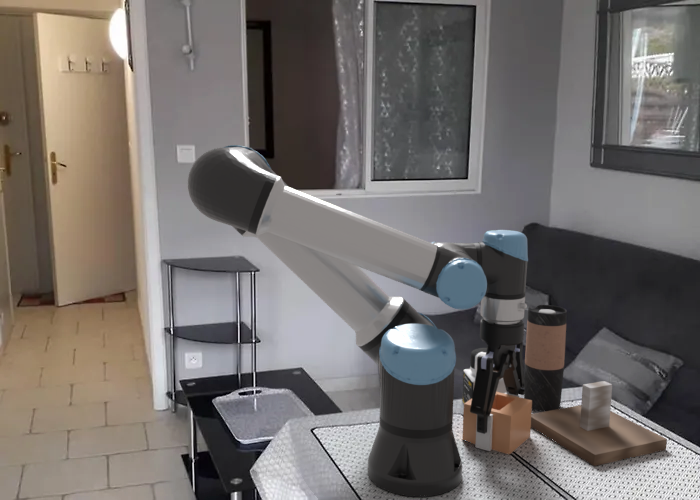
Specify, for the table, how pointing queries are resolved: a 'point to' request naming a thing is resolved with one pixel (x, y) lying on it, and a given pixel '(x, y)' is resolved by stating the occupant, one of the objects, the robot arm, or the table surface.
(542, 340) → the travel mug
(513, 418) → the tan cube with window
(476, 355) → the medicine bottle
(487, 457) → the table surface
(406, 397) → the robot arm
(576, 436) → the stand
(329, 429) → the table surface
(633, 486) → the table surface
